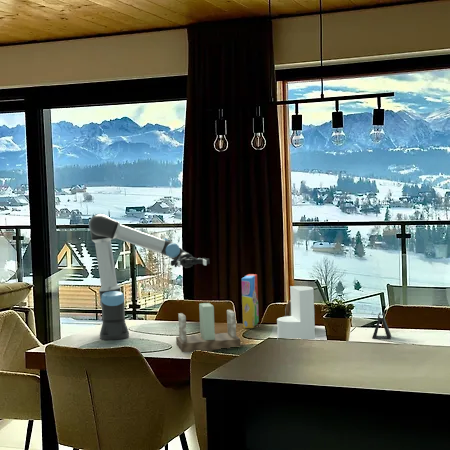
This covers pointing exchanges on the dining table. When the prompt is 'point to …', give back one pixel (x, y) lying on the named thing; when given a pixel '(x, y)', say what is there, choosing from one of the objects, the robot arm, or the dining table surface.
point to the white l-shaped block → (299, 315)
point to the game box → (250, 301)
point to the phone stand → (388, 334)
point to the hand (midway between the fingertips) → (192, 263)
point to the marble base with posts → (199, 343)
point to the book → (207, 321)
